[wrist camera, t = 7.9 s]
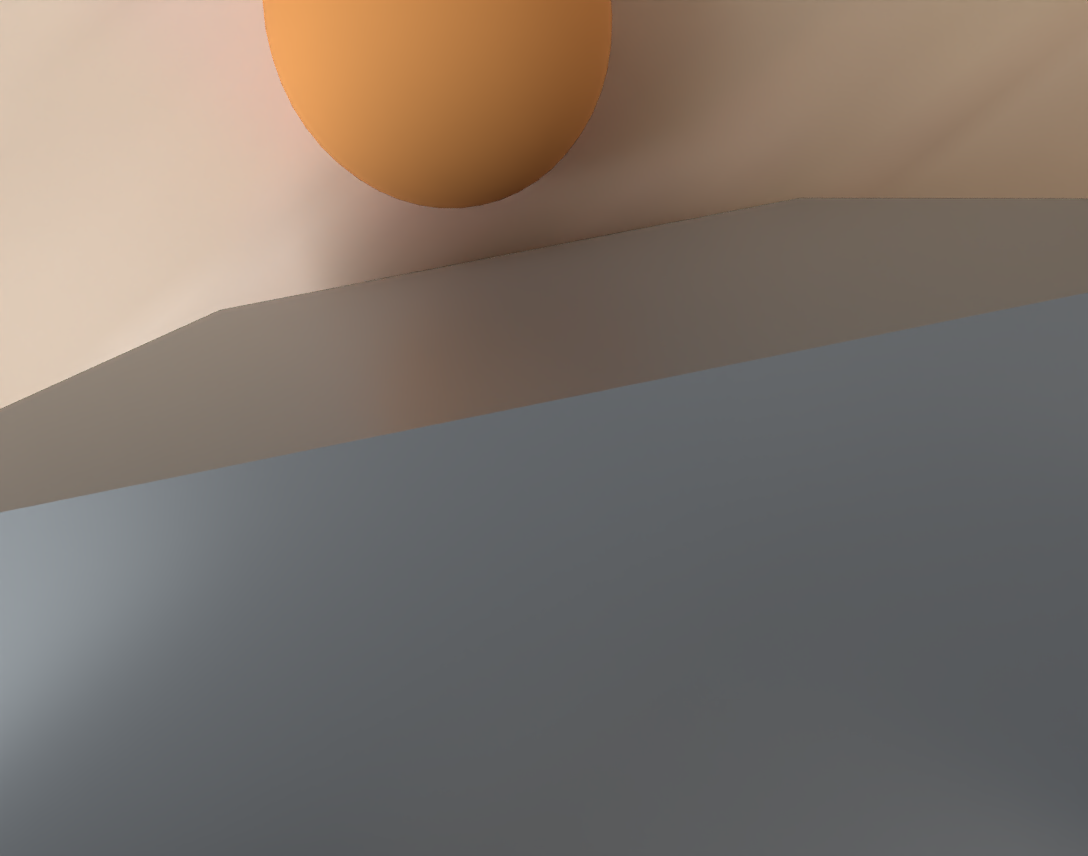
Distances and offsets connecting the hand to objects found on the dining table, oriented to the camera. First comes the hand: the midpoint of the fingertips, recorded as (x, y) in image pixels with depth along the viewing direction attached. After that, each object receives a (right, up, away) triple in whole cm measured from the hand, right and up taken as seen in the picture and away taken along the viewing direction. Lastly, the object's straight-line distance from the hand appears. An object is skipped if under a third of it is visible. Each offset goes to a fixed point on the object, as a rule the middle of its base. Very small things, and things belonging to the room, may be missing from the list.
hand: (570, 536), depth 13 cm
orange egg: (-2, +8, -3) cm, 9 cm away
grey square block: (0, 0, +1) cm, 1 cm away
